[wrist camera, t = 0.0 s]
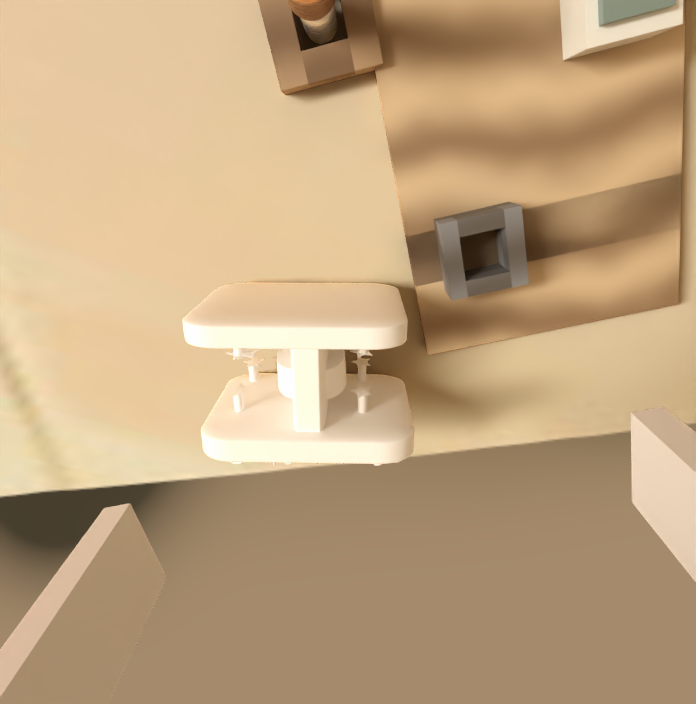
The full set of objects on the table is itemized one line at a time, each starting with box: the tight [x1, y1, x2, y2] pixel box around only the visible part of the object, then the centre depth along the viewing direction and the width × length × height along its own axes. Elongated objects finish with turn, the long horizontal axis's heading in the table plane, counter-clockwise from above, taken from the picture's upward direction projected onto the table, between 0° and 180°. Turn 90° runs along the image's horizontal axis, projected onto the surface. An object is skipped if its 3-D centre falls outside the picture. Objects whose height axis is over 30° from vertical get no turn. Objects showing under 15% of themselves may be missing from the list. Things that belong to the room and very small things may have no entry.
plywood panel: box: [372, 0, 686, 355], centre depth 32 cm, size 30×20×4 cm, turn 13°
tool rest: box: [258, 0, 383, 95], centre depth 31 cm, size 7×7×2 cm
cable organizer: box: [183, 282, 414, 466], centre depth 35 cm, size 15×11×12 cm
